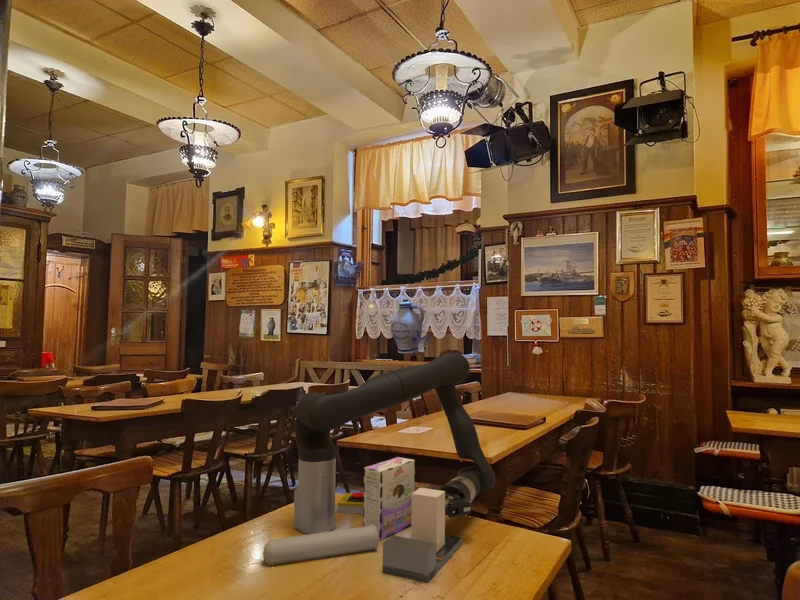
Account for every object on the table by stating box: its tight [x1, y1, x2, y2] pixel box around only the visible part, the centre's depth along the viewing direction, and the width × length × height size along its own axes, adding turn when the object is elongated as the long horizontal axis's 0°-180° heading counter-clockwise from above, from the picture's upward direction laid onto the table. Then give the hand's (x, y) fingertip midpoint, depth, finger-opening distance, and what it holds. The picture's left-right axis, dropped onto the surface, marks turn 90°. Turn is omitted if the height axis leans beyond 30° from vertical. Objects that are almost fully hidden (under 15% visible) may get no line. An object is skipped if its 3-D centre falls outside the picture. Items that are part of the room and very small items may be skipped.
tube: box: [262, 524, 379, 566], centre depth 120 cm, size 5×5×25 cm
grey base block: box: [382, 534, 463, 583], centre depth 119 cm, size 10×21×6 cm, turn 155°
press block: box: [410, 487, 446, 553], centre depth 121 cm, size 6×5×12 cm
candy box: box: [362, 456, 416, 542], centre depth 135 cm, size 14×6×16 cm, turn 142°
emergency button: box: [335, 491, 364, 516], centre depth 150 cm, size 9×4×15 cm
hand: (432, 516), depth 123 cm, fingers closed
